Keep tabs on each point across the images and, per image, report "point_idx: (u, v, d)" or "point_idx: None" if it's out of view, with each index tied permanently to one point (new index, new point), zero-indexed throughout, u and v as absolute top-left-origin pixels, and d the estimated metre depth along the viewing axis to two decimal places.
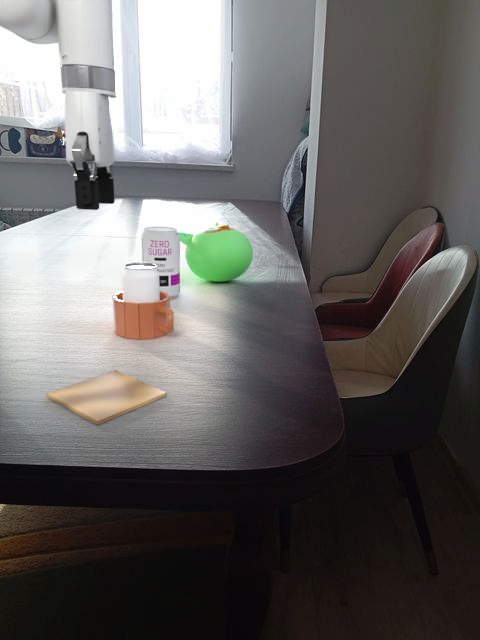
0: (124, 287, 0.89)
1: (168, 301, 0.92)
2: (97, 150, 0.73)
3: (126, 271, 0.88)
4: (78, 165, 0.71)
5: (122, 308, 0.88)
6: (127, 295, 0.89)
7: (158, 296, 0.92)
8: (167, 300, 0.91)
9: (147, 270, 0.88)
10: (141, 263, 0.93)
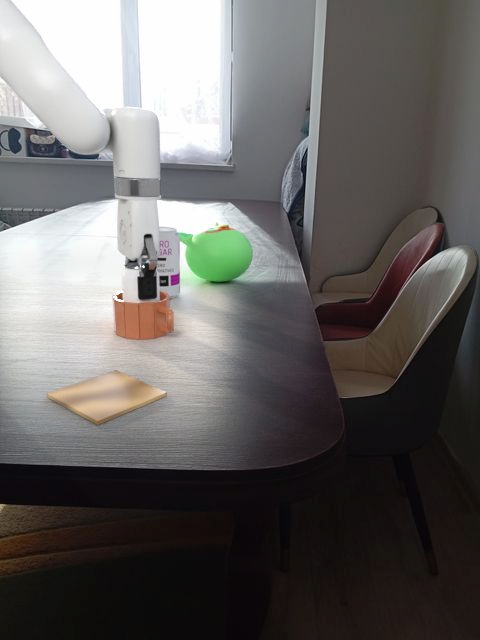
0: (124, 287, 0.89)
1: (168, 301, 0.92)
2: (159, 247, 0.86)
3: (126, 272, 0.88)
4: (151, 268, 0.84)
5: (122, 308, 0.88)
6: (127, 295, 0.89)
7: (158, 296, 0.92)
8: (167, 300, 0.91)
9: None
10: None
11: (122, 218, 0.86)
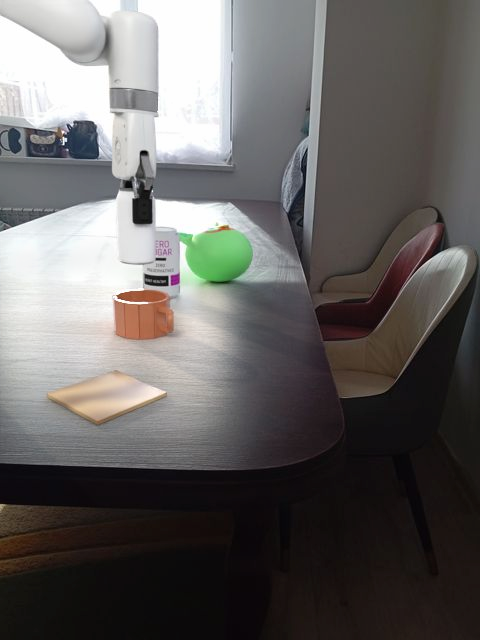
0: (118, 211, 0.85)
1: (168, 301, 0.92)
2: (155, 166, 0.81)
3: (120, 194, 0.84)
4: (147, 187, 0.80)
5: (122, 308, 0.88)
6: (121, 219, 0.85)
7: (154, 224, 0.87)
8: (167, 300, 0.91)
9: None
10: None
11: (117, 135, 0.81)
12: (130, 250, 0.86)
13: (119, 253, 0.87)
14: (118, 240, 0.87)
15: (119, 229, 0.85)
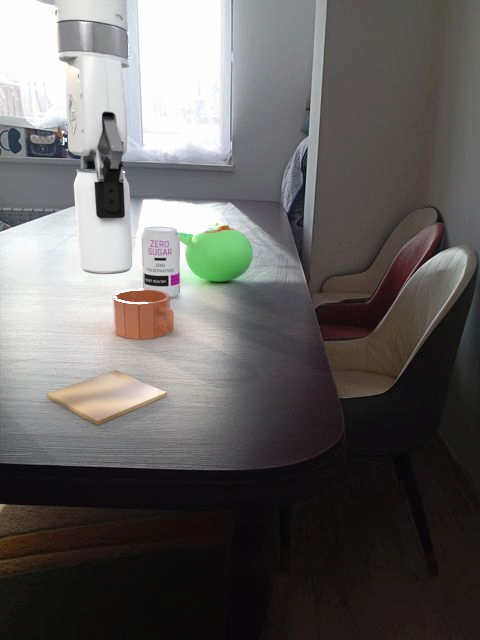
0: (77, 201, 0.61)
1: (168, 301, 0.92)
2: (126, 136, 0.57)
3: (79, 177, 0.60)
4: (114, 165, 0.56)
5: (122, 308, 0.88)
6: (82, 212, 0.61)
7: (128, 217, 0.63)
8: (167, 300, 0.91)
9: None
10: None
11: (71, 92, 0.57)
12: (96, 254, 0.62)
13: (81, 259, 0.63)
14: (79, 241, 0.63)
15: (80, 226, 0.62)
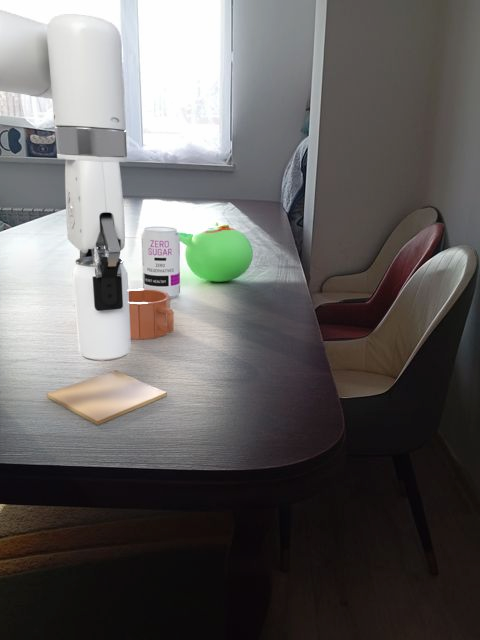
0: (76, 292, 0.61)
1: (168, 301, 0.92)
2: (123, 233, 0.58)
3: (77, 269, 0.60)
4: (111, 264, 0.56)
5: None
6: (80, 303, 0.61)
7: (126, 305, 0.64)
8: (167, 300, 0.91)
9: None
10: None
11: (69, 190, 0.58)
12: (94, 343, 0.62)
13: (80, 346, 0.64)
14: (78, 329, 0.63)
15: (78, 316, 0.62)
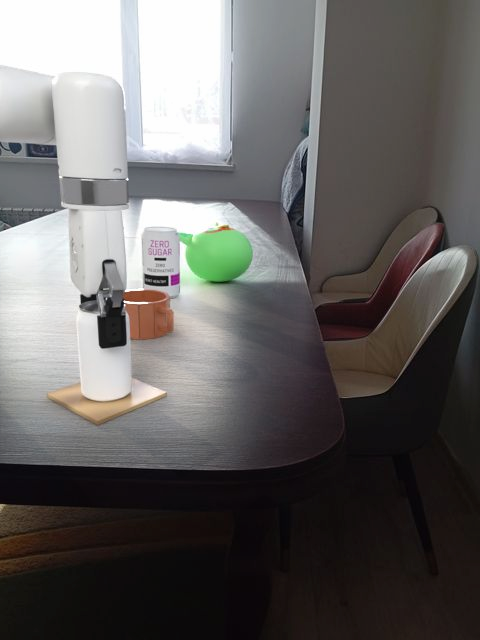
0: (79, 337, 0.63)
1: (168, 301, 0.92)
2: (125, 278, 0.59)
3: (80, 315, 0.62)
4: (116, 303, 0.57)
5: None
6: (83, 348, 0.63)
7: (128, 348, 0.66)
8: (167, 300, 0.91)
9: None
10: (105, 301, 0.67)
11: (72, 236, 0.59)
12: (97, 385, 0.65)
13: (83, 387, 0.66)
14: (81, 371, 0.65)
15: (81, 359, 0.64)
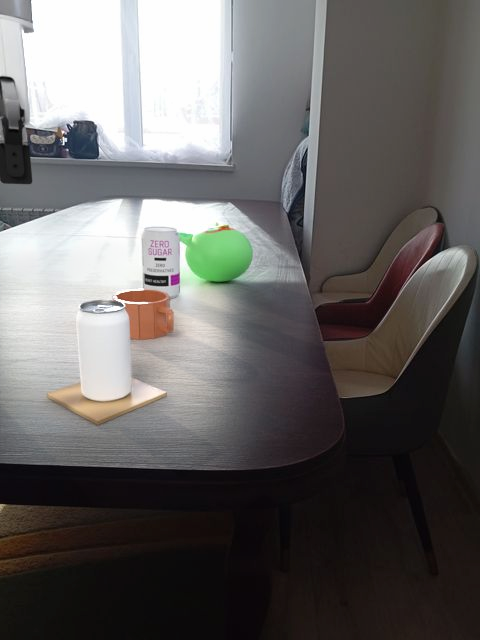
0: (79, 337, 0.63)
1: (168, 301, 0.92)
2: (27, 103, 0.54)
3: (80, 315, 0.62)
4: (12, 122, 0.52)
5: None
6: (83, 347, 0.63)
7: (128, 348, 0.66)
8: (167, 300, 0.91)
9: (110, 314, 0.62)
10: (105, 301, 0.67)
11: None
12: (97, 385, 0.65)
13: (83, 387, 0.66)
14: (81, 371, 0.65)
15: (81, 359, 0.64)
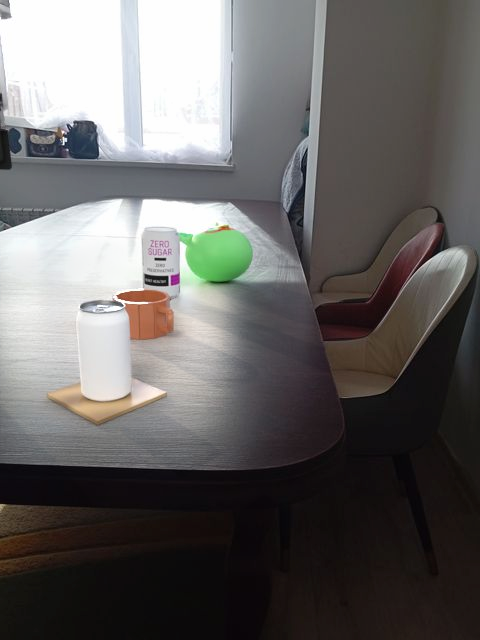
0: (79, 337, 0.63)
1: (168, 301, 0.92)
2: (5, 87, 0.54)
3: (80, 315, 0.63)
4: None
5: None
6: (83, 347, 0.63)
7: (128, 348, 0.66)
8: (167, 300, 0.91)
9: (110, 314, 0.62)
10: (105, 301, 0.67)
11: None
12: (97, 385, 0.65)
13: (83, 387, 0.66)
14: (81, 371, 0.65)
15: (81, 359, 0.64)
